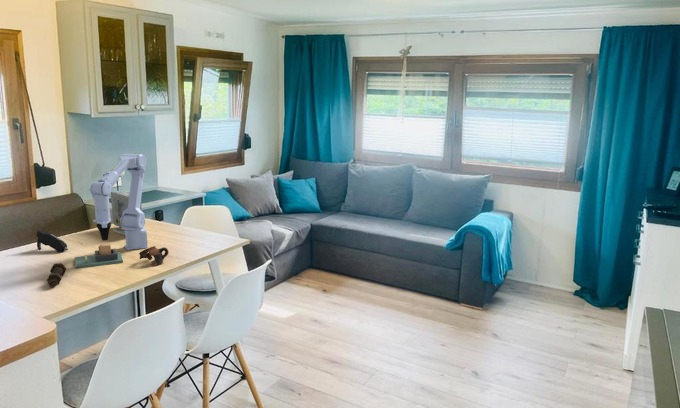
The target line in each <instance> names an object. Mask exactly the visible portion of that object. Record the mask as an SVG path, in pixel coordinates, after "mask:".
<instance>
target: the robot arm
mask: <svg viewBox="0 0 680 408" xmlns="http://www.w3.org/2000/svg"><path fill="white" fill-rule="evenodd" d="M147 162H148V161H147V158H146V156H145V155H144V154H140V153H138V154H136V153H123V154H122V155H121V156H119V161H118V163H117V164H116V165H115V166H114V168H113V169H112V170H107V171H106V172H105V173H104V174H103V175H102V176H101V177H100V178H99V179H98V180H97V181H94V182H93V183H91V185H90V189H89V192H90V194H91V196H92V199H93V200H94V201H93V202H94V212H95V213H94V214H95V219H92V223H97V224H96V225H95V226H96V228H97V229H98V231H99V233H100V238H101V240H102V241H108V239H109V233H110V230H111V227H112V224H111V222H112V218H111V209H110V208H111V206H110V197H109V195H111V192H112V189H113V186H114V185H116V184H117V182H119V180H120V176H121V175H122V174H123V173H124V172H125V171H127V172H129V173H130V174H131V180H130V188H129V193H128V194H129V202H128V208H127V209H126V210H124V211H123V213H122V217H121V219H120V224H121V226H122V227H123V228H122V229H123V230H125V235H124V236H125V237H124V238H125V244H124V248H125V250H127V251H129V250H139V249H145V248H146V249H148V248H149V247H148V233H147V228H146V227H145V225H146V219H145V218H146V217H145V212H143V210H142V211H141V210H140V204H141V205H142V196H143V195H142V194H143V187H144V186H143V185H144V179H145V173H146V169H147ZM131 214H136V215H137V216H136V215H131Z"/></svg>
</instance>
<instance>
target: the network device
mask: <svg viewBox="0 0 680 408" xmlns="http://www.w3.org/2000/svg"><path fill="white" fill-rule="evenodd" d="M129 194H130V193H127V192H124V191H121V190H116V191H111V193H110V202H111V203H110V204H111V214H112V224H113V225H114V226H116V227H114V228H112V230H113V231H114V232H115V231H116V233H118V234H120V235H124V236H125V230H124V229H123V227H122V226H121V224H120V219H121V217H122V213H123V211H124V210H126V209H127V208H128V202H129ZM140 210H141V211H142V212H143V209H142V203H141V204H140ZM131 215H136V214H131ZM136 216H137V215H136ZM121 228H122V229H123V230H120V229H121Z"/></svg>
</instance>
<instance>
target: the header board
mask: <svg viewBox="0 0 680 408" xmlns="http://www.w3.org/2000/svg"><path fill="white" fill-rule="evenodd" d="M120 263H121V264H122V263H124V260H123V257H122V253H121V252H120V251H117V249H116V248H111V254H104V255H99V249H98V250H94V254H93V255H87V254H84V255H83V256H76V257H75V269H81V268H89V267H90V268H91V267H100V266H105V265H106V266H107V265H114V264H120Z"/></svg>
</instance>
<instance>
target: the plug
mask: <svg viewBox="0 0 680 408" xmlns="http://www.w3.org/2000/svg"><path fill="white" fill-rule="evenodd" d="M97 247H98V250H99V255H104V254H111V249H112V248H111V242H108V243H107V242H106V243H99V245H98V246H97Z"/></svg>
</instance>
